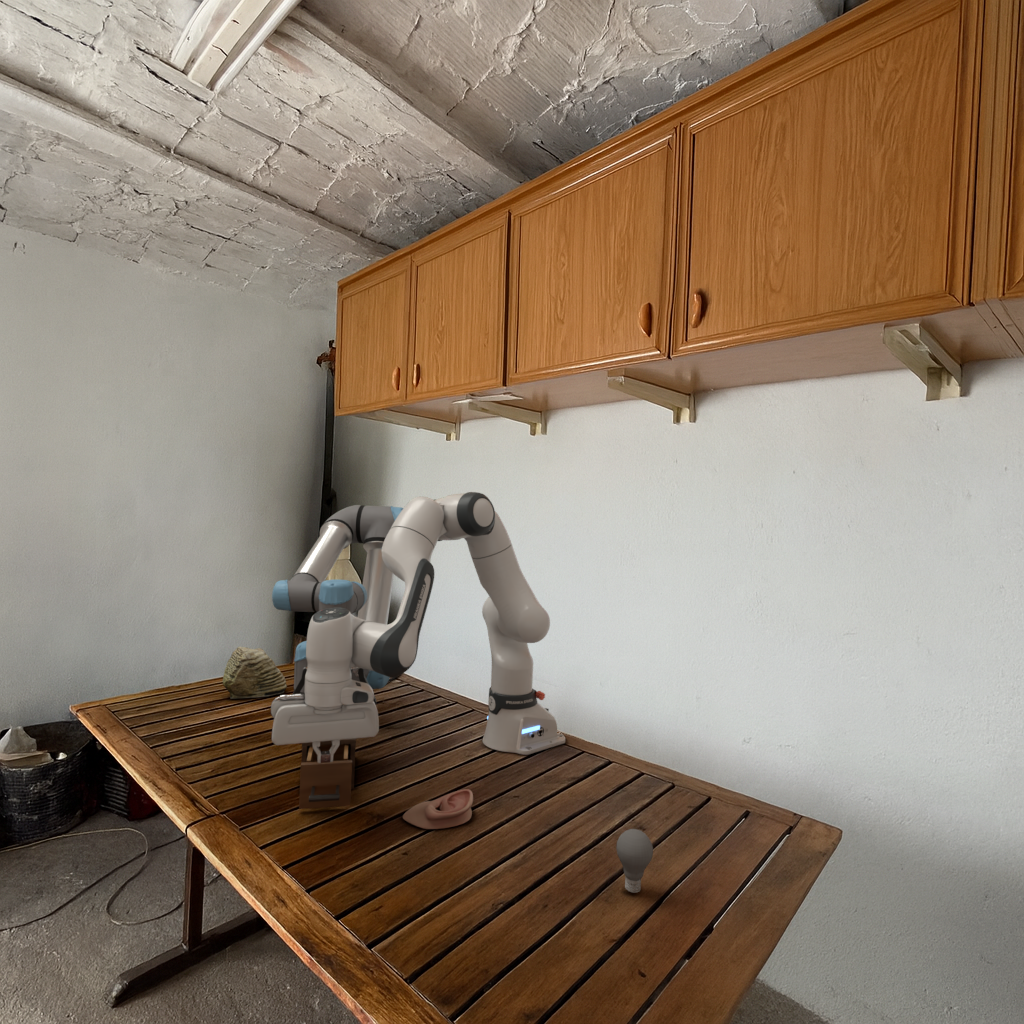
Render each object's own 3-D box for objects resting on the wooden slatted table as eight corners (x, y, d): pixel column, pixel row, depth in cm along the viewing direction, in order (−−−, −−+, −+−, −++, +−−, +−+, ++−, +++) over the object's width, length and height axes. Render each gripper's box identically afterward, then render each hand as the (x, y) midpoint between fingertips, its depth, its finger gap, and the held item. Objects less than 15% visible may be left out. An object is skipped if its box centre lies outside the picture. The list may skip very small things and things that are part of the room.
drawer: (349, 818, 123) (351, 773, 123) (296, 822, 121) (298, 776, 121) (351, 774, 143) (353, 734, 143) (305, 776, 141) (307, 736, 141)
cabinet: (353, 788, 138) (355, 739, 138) (300, 792, 135) (302, 741, 135) (354, 758, 154) (356, 713, 154) (306, 760, 151) (308, 715, 151)
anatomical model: (397, 804, 123) (417, 779, 135) (396, 824, 123) (417, 798, 135) (462, 814, 121) (478, 788, 132) (462, 835, 121) (477, 807, 132)
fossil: (218, 695, 195) (220, 647, 195) (278, 685, 208) (279, 640, 207) (228, 703, 189) (230, 653, 188) (289, 692, 201) (290, 645, 201)
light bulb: (610, 879, 108) (613, 822, 108) (644, 879, 109) (647, 822, 109) (619, 902, 102) (622, 840, 102) (655, 901, 103) (658, 840, 103)
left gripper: (275, 651, 141) (272, 745, 142) (389, 649, 147) (385, 740, 148) (280, 643, 149) (277, 732, 149) (388, 642, 154) (384, 728, 155)
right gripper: (271, 700, 118) (268, 774, 118) (381, 693, 125) (379, 762, 125) (271, 690, 124) (268, 760, 124) (377, 684, 131) (374, 750, 131)
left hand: (331, 736), depth 148 cm, fingers open, 13 cm apart
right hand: (325, 761), depth 125 cm, fingers closed
